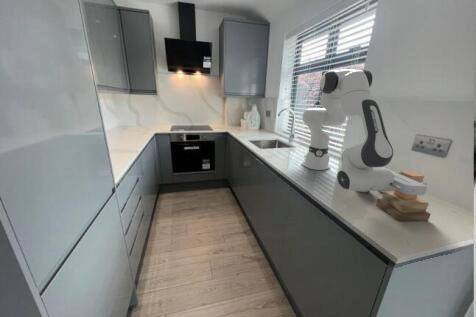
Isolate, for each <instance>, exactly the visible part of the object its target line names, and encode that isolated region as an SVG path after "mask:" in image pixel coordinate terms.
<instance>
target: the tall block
mask: <svg viewBox="0 0 476 317" xmlns="http://www.w3.org/2000/svg"><path fill="white" fill-rule="evenodd" d="M399 172H400V174H401V175H403V176H406V177H408V178H410V179H413V180H415V181H417V182H419V181H423V182H424V179H425V178H424V177H425V175H422V174H420V173H417V172H416V171H412V170H411V171H410V170H403V171H402V170H400V171H399ZM394 194H396V195H398V196H399V197H401V198H403V199H416V197H418V195H409V194H404V193H402V192H400V191H398V190H396V189H395V191H394Z"/></svg>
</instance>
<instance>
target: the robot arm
mask: <svg viewBox="0 0 476 317" xmlns="http://www.w3.org/2000/svg"><path fill="white" fill-rule="evenodd" d="M319 82H320V84H319V85H320V91H321V96H320V98H319V103H320V106H321V107H311V108H306V109H305V110H304V111H303V113H302V117H301V118H302V122H303V123H304V124H305V125H306V126H307V127H308V129H309V131H310V143H309V144H310V145H309V147H308V152H307V153H306V154H304V156H303V160H302V163H301V165H300V166H303V167H305V168H307V169H311V170H316V171H324V170H329V169H330V170H331V166H330V165H329V162H330V155H329V154H328V153H329V142H330V135H329V133H328V132H326V131H324V130H322V129H323V128H322V127H340V126H342V125H343V124H344V123H345V122H346V121H347V120H346V119H347V117H349V118H354V119H355V118H356V119H358V118H359V119H361V120H362V125H363V129H364V133H365V139H364V140H363V142H361V143H359V144H355V145H353V146H350V147H348V148H345V150H343V151H342V152H343V153H342V154H341V160H342V161H341V166H340V169H339V170H338V171H337V175H336V176H337V177H336V178H337V182H338V184H339V185H340V186H341V188H343V189H344V190H346V191H352V192H359V191H367V190H370V191H371V192H380V191H388V190H390V189H391V188H394V189H396V190H398V191H400V192H402V193H404V194H409V195H417V196H424V195H425V194H426V192H427V189H428V185H427V182H425V181H424V180H423V181H419V182H417V181H415V180H413V179H410V178H408V177H406V176H403V175H401V174H400V172H401V171H394V170H391V169H389V168H387V167H386V166H387V165H389V164H390V163H391V161H392V159H393V156H394V148H393V146H392V144H391V142H390V140H389V138H388V135H387V131H386V127H385V125H384V123H385V122H384V120H383V117H382V112H381V109H380V107H379V104H378V103H377V102H376V101H375V100H373V99H372V97H371V86H372V84H373V73H372V71H370V70H366V69H349V68H348V69H340V70H338V69H337V70H333V69H331V70H328V71H325V72H324V73H323V74H322V76H321V78H320V81H319Z"/></svg>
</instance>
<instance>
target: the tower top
mask: <svg viewBox="0 0 476 317" xmlns="http://www.w3.org/2000/svg"><path fill="white" fill-rule="evenodd" d="M381 199H382V200H383V201H385V202H386V203H388V204H389V205H391V206H393V207H394V208H396V209H397V210H399V211H401V212H402V213H407V212H426V211H427V209H428V206H429V204H430V203H429V202H428V201H426V200H424V199H422V198H420V197H418V196H417V197H416V199H403V198H401V197H399V196H398V195H396V194H394V191H384V193H382V197H381Z"/></svg>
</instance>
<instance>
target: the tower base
mask: <svg viewBox="0 0 476 317" xmlns="http://www.w3.org/2000/svg"><path fill="white" fill-rule="evenodd" d="M376 206H377V207H378V208H379V209H380V210H382V211H384V212H385V213H387V215H389V216H391V217H392V218H393V219H395V220H397V221H398V222H399V223H400V222H402V223H404V222H407V223H408V222H409V223H410V222H429V220H430V217H431V213H430V212H429V211H427V210H426V212H407V213H402V212H401V211H399V210H397V209H396V208H394V207H393V206H391V205H389V204H388V203H386V202H385V201H383V200H382V198H377V200H376Z"/></svg>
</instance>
